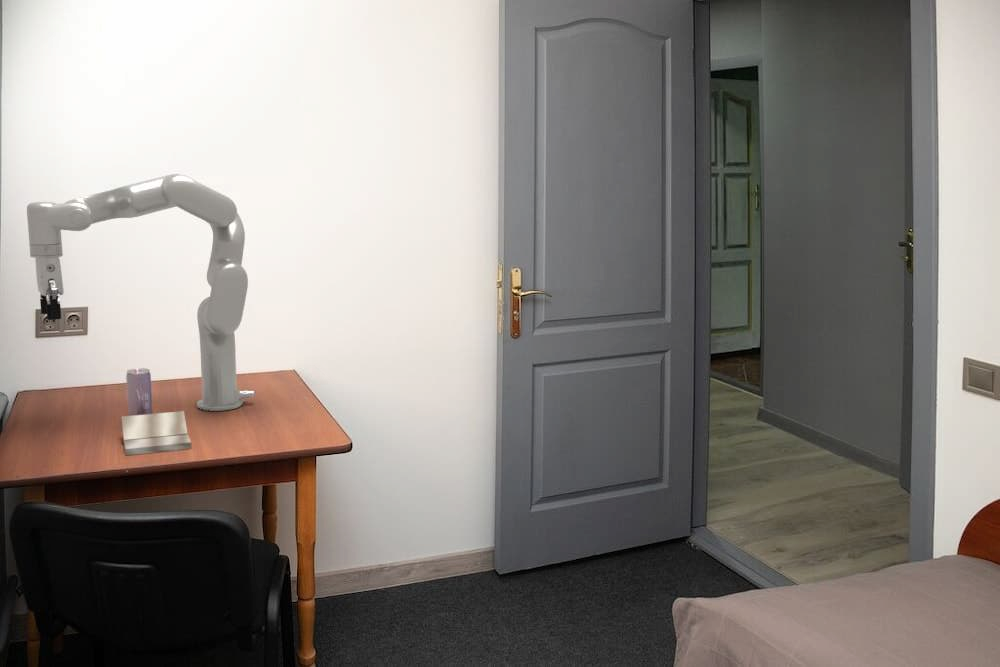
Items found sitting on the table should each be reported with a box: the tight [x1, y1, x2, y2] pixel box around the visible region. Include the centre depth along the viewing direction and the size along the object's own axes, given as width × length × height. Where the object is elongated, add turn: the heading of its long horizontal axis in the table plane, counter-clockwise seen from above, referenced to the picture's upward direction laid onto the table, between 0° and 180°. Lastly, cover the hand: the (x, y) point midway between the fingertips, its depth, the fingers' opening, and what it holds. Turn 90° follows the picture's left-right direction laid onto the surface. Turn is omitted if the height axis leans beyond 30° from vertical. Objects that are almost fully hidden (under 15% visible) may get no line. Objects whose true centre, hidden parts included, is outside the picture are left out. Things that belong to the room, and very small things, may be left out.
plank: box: [121, 410, 189, 442], centre depth 237 cm, size 15×8×2 cm
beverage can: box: [126, 367, 154, 416], centre depth 247 cm, size 6×6×15 cm
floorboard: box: [123, 433, 192, 456], centre depth 231 cm, size 15×8×2 cm, turn 114°
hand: (51, 316), depth 244 cm, fingers open, 9 cm apart
